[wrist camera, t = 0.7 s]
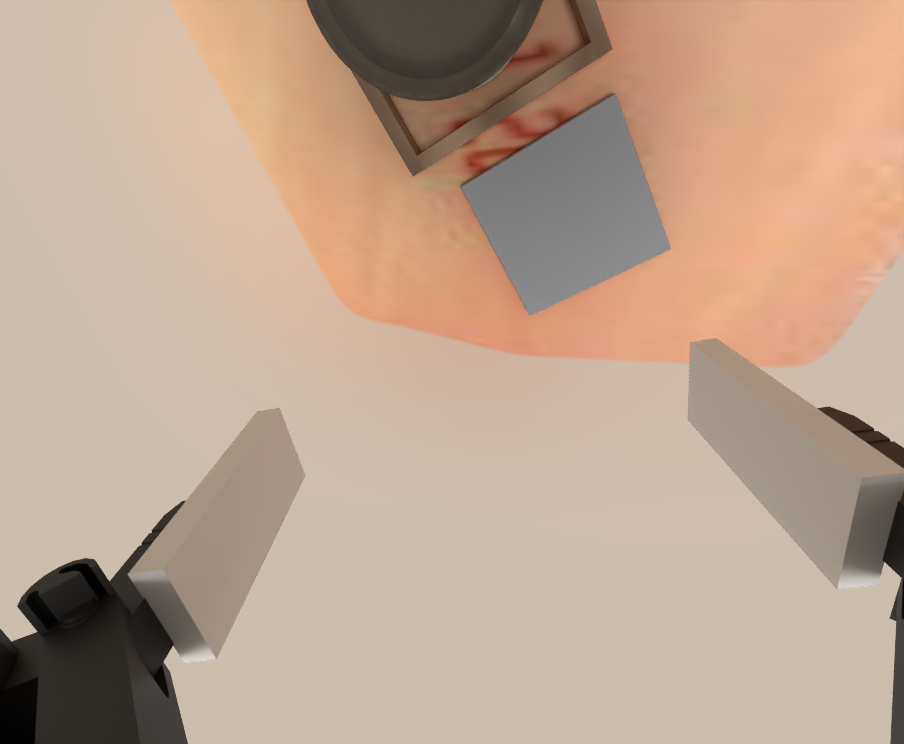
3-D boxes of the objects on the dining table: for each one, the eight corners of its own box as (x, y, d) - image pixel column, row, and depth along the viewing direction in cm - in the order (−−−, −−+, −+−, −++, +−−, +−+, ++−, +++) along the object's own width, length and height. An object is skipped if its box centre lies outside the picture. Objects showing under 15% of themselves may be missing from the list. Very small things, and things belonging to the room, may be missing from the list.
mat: (612, 93, 32) (615, 93, 31) (666, 245, 37) (670, 248, 36) (461, 185, 36) (460, 187, 35) (529, 310, 41) (529, 315, 40)
